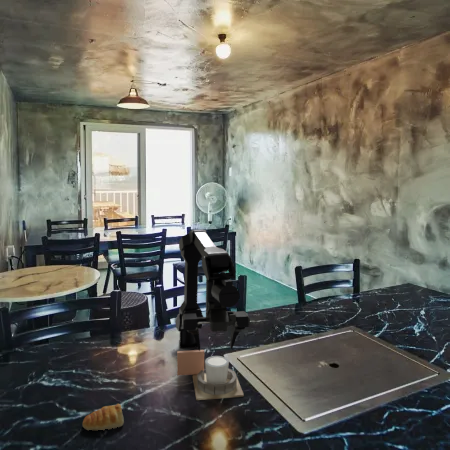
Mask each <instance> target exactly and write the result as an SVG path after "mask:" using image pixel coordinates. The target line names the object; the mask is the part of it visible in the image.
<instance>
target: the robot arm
mask: <svg viewBox="0 0 450 450" xmlns="http://www.w3.org/2000/svg"><path fill="white" fill-rule="evenodd" d="M178 250H179V251H180V255H181V257H182V259H183V260H184V282H183V283H184V288H183V289H184V290H183V293H184V294H183V302H182V303H181V305H180V306H179V309H178V314H177V316H176V318H175V328H176V329H177V331H178V332H179V340H178V343H179V349H191V348H193V349H194V348H197V350H199V351H200V350H201V342H200V341H201V340H200V330H201V329H202V327H203V325H209V326H210V331H211V332H213V333H216V332H227V331H229V328H230V338H229V348H230V349H231V350H232V349H233V347H234V345H235V342H236V341H237V338H238V336H239V333H240V332H241V331H242V330H243V331H244V330H245V329H246V328H249V327H251V318H250V316H249V315H248V313H247V312H246V311H244V310H241V311H240V310H239V311H236V310H235V311H233V310H232V311H230V310H229V311H228V308H231V307H234V306H235V305H237V304H238V302H239V301H240V296H241V294H240V291H239V289H238V288H237V287H236V286H235V285H234V282H233V280H232V279H236V269H235V266H234V262H233V260H232V258H231V255H230V254H229V252H228V251H227V250H225V249H223V248H221V247H217V246H216V244H215V243H214V242H213V241H212V239H211V238H210V236H209V235H208V232H207V230H205V229H192V230H190V231H189V232H188V233H187V234H185V235H183V236H181V238H180V239H179V242H178ZM200 261H201V267H202V270H203V272H204V277H205V316H204V315H203V311H202V309H201V307H200V305H199V304H198V286H199V284H198V283H199V280H198V279H199V263H200ZM230 326H231V327H230ZM199 329H200V330H199Z"/></svg>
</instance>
